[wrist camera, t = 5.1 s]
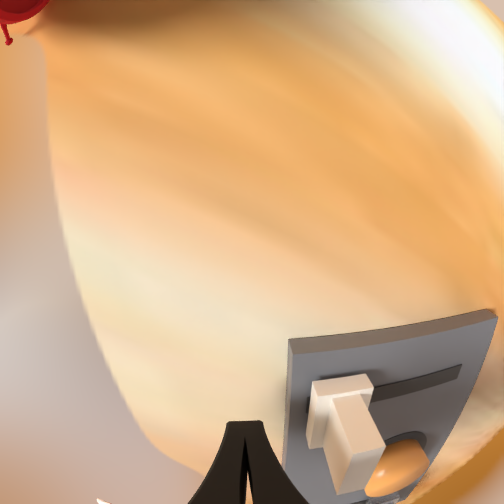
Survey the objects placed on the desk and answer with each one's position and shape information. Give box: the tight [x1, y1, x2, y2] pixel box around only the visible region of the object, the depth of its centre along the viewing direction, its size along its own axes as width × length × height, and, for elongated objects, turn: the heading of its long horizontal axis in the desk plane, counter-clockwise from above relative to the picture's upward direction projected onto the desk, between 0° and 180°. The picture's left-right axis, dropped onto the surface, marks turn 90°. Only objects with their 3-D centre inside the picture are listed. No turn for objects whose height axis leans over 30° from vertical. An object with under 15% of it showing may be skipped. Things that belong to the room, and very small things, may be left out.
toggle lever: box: [306, 374, 386, 495], centre depth 10 cm, size 2×4×4 cm, turn 2°
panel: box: [282, 309, 498, 504], centre depth 14 cm, size 12×20×1 cm, turn 2°
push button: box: [364, 439, 430, 497], centre depth 13 cm, size 4×4×2 cm
